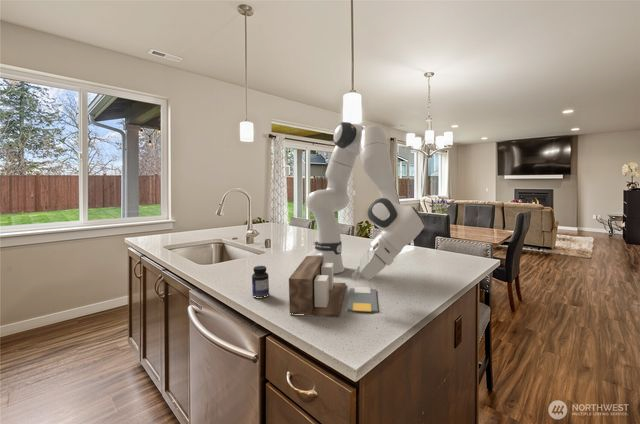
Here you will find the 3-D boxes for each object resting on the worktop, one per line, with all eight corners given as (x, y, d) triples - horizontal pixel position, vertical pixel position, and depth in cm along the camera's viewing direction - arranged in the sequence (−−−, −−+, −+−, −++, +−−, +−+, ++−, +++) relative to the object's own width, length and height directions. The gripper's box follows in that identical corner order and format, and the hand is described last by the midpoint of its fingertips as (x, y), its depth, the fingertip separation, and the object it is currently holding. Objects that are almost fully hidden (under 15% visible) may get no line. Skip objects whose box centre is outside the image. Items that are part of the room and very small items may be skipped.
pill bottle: (253, 293, 117) (252, 265, 116) (269, 292, 118) (268, 264, 117) (251, 299, 111) (250, 270, 110) (268, 298, 112) (267, 269, 111)
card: (375, 289, 119) (375, 287, 119) (377, 313, 97) (377, 311, 97) (349, 288, 120) (349, 286, 120) (346, 312, 99) (346, 309, 99)
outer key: (328, 300, 106) (328, 275, 105) (326, 307, 100) (326, 280, 99) (317, 300, 106) (317, 274, 105) (314, 307, 100) (314, 280, 99)
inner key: (333, 285, 121) (333, 263, 120) (331, 290, 115) (331, 267, 114) (323, 284, 122) (323, 262, 121) (321, 290, 116) (321, 267, 115)
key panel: (345, 285, 125) (345, 256, 123) (339, 317, 95) (338, 280, 94) (307, 283, 127) (306, 255, 126) (289, 314, 98) (288, 278, 96)
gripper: (375, 236, 108) (348, 263, 111) (377, 248, 88) (344, 280, 91) (387, 248, 108) (360, 275, 110) (393, 263, 88) (359, 295, 90)
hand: (353, 277), depth 100 cm, fingers closed
